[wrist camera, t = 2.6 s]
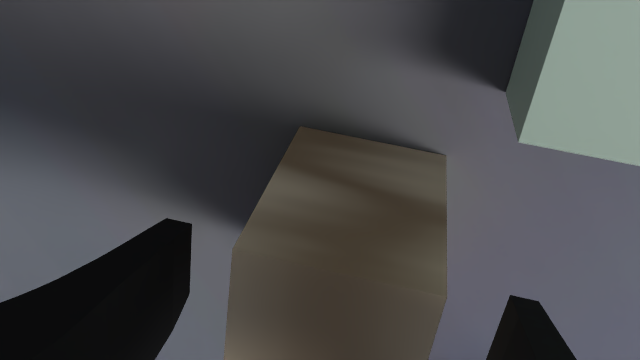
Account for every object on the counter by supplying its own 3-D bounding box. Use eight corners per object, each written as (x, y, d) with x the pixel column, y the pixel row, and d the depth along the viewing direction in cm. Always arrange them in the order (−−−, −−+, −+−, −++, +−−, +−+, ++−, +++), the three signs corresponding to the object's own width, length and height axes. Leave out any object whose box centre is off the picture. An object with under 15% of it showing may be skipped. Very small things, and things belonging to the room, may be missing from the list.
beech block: (284, 245, 18) (220, 398, 13) (300, 125, 16) (232, 249, 11) (414, 274, 18) (402, 443, 13) (446, 155, 16) (446, 297, 11)
